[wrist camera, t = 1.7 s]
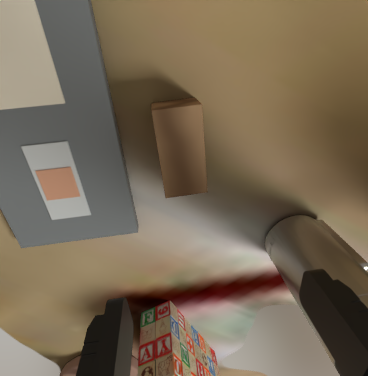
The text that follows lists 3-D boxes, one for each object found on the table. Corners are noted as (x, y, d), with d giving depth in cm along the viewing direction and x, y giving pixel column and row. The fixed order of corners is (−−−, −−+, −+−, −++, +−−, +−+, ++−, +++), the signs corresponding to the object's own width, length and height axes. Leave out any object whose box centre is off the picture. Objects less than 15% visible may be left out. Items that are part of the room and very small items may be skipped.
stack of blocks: (215, 351, 54) (231, 424, 43) (190, 361, 55) (200, 435, 44) (169, 299, 44) (174, 376, 33) (139, 312, 45) (135, 392, 34)
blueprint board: (48, -198, 17) (37, -225, 16) (138, 226, 35) (137, 233, 34) (-194, -192, 16) (-232, -220, 15) (26, 240, 34) (20, 249, 33)
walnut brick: (194, 97, 28) (201, 104, 24) (200, 174, 33) (207, 192, 28) (151, 102, 28) (151, 110, 23) (164, 179, 33) (165, 198, 28)
